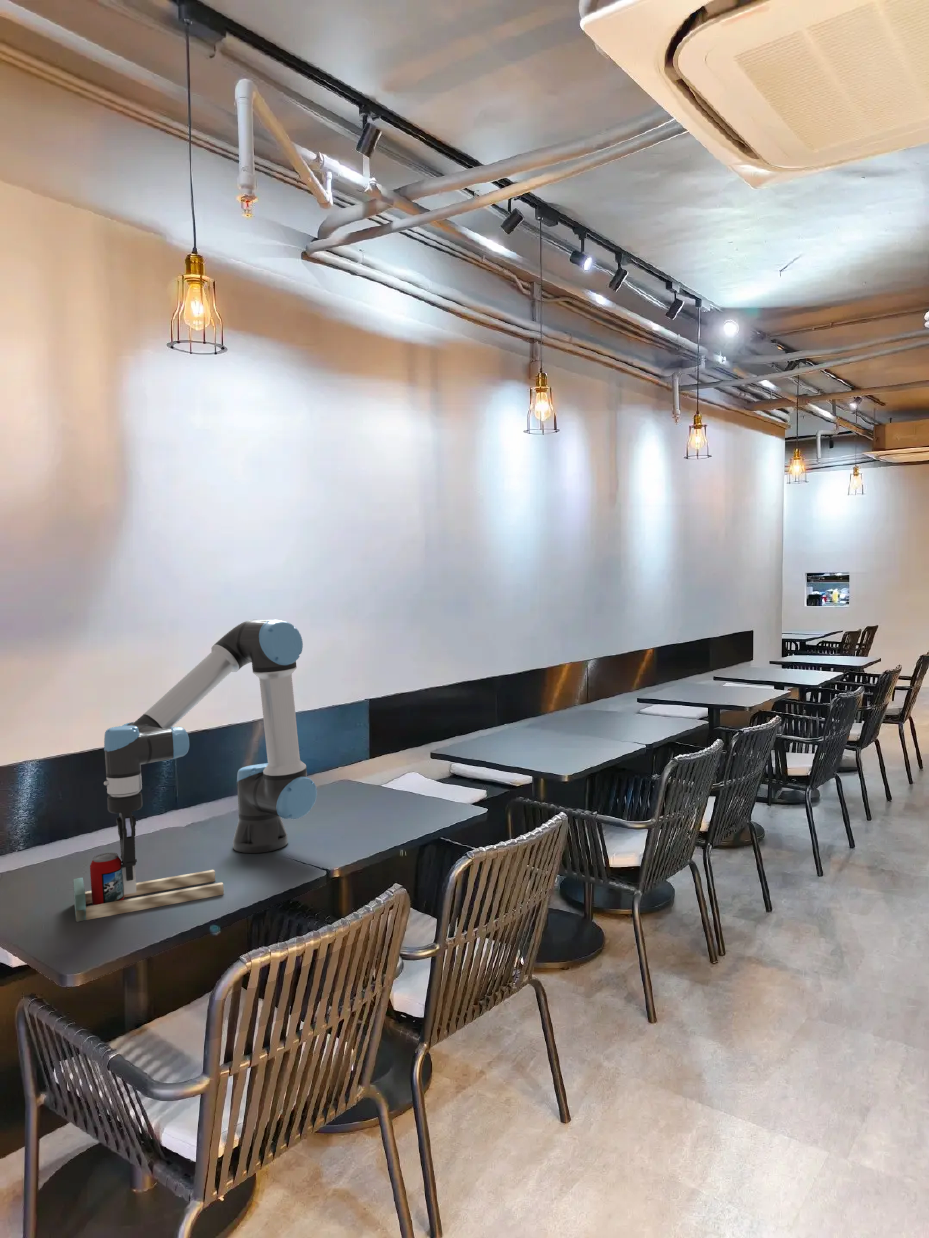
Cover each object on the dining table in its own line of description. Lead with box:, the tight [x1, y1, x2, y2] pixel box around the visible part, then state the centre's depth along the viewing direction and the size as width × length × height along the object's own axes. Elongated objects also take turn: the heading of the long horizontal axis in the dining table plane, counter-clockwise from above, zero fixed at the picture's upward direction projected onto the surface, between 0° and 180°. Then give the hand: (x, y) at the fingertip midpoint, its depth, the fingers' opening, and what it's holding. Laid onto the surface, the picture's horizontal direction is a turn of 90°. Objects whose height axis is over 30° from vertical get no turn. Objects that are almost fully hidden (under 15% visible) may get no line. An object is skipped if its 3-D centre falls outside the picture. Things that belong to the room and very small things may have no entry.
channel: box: [72, 869, 225, 923], centre depth 197 cm, size 32×12×6 cm, turn 117°
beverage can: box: [89, 852, 125, 906], centre depth 192 cm, size 7×7×12 cm
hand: (129, 892), depth 194 cm, fingers closed
